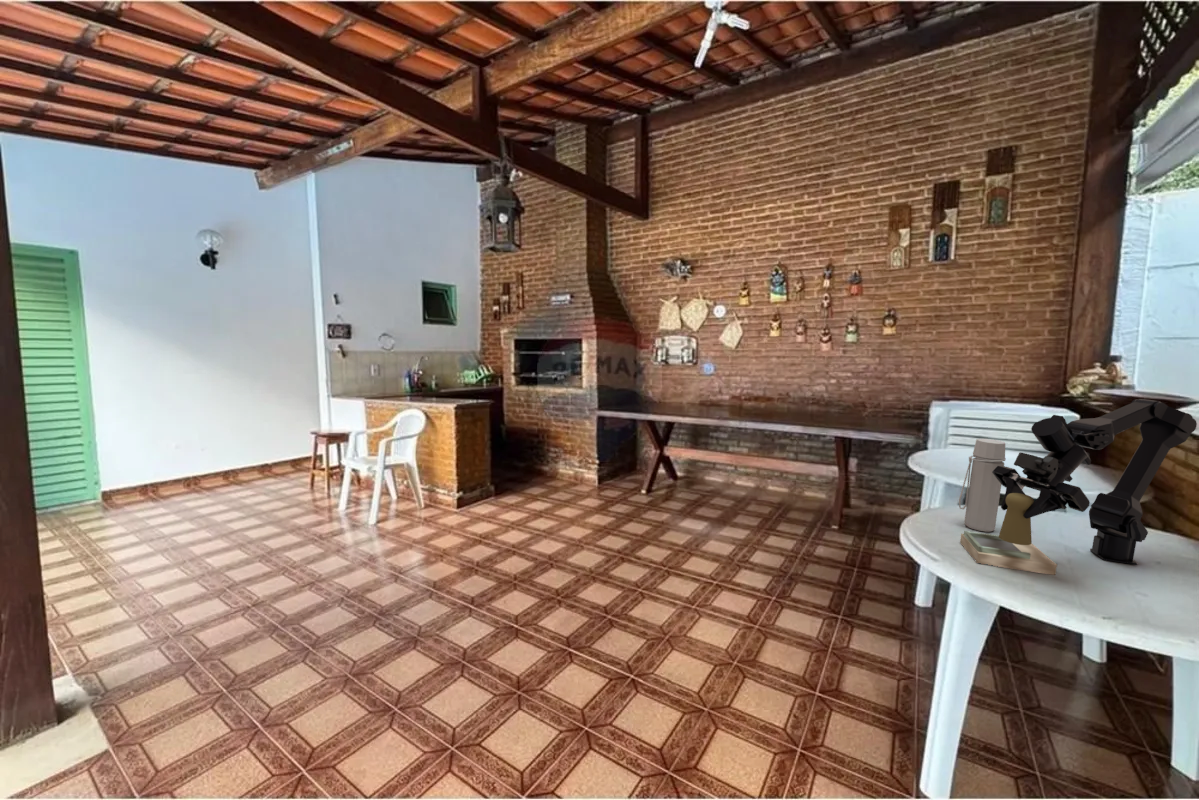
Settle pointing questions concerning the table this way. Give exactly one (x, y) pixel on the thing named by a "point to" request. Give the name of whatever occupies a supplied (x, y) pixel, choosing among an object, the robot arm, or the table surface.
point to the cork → (1017, 520)
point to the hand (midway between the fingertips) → (1013, 512)
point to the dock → (1006, 553)
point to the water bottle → (983, 485)
